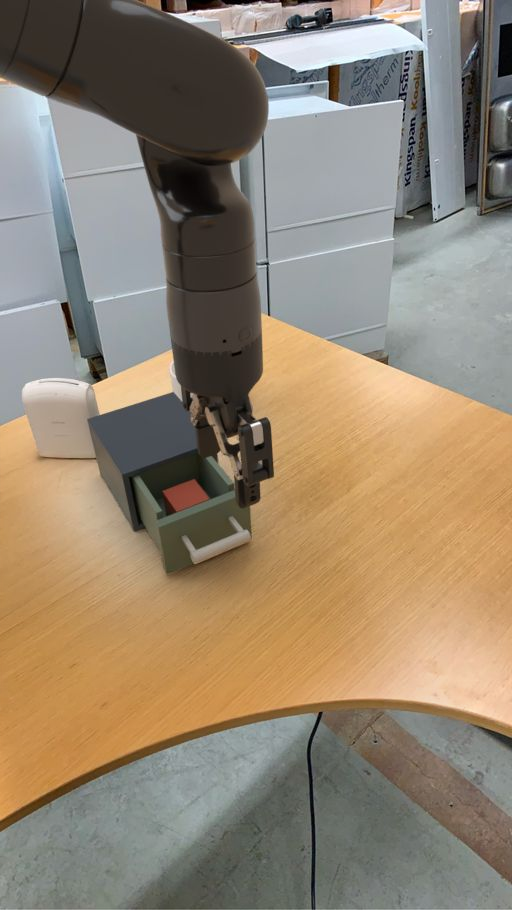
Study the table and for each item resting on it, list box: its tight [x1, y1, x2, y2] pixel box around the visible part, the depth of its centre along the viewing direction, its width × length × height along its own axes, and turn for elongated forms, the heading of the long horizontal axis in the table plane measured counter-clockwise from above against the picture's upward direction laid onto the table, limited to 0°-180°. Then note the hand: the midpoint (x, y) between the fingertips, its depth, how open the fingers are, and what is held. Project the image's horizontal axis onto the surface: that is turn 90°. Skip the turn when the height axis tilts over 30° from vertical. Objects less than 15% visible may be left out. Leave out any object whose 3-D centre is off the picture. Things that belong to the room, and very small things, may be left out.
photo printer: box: [21, 377, 101, 459], centre depth 94 cm, size 10×4×12 cm, turn 85°
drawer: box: [129, 453, 253, 575], centre depth 79 cm, size 17×11×8 cm
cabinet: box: [87, 391, 219, 533], centre depth 88 cm, size 14×13×10 cm
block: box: [162, 479, 210, 517], centre depth 81 cm, size 4×4×4 cm
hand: (228, 477), depth 63 cm, fingers open, 8 cm apart
